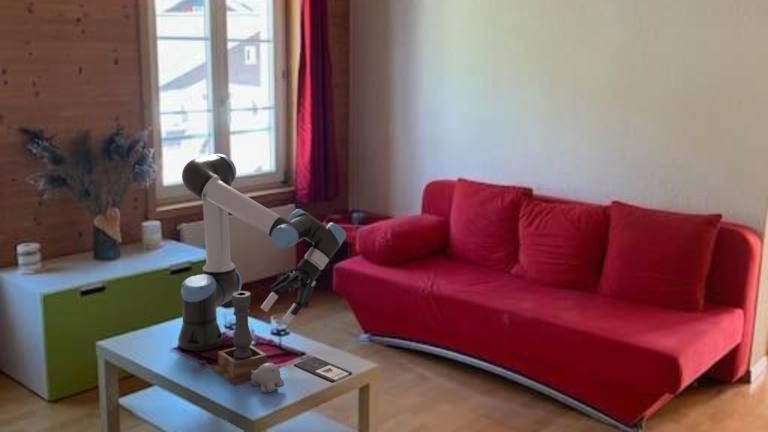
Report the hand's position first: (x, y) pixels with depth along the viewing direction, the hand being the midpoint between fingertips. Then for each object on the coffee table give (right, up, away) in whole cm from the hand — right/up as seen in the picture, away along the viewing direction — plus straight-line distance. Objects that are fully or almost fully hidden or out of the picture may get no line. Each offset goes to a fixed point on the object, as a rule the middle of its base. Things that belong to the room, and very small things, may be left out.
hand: (273, 315), depth 253 cm
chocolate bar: (+16, -18, 0) cm, 24 cm away
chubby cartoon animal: (-1, -21, -14) cm, 25 cm away
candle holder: (-10, -16, -3) cm, 19 cm away
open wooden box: (-10, -18, -3) cm, 20 cm away
